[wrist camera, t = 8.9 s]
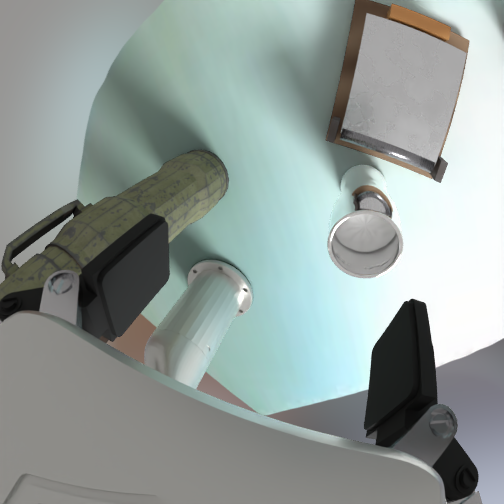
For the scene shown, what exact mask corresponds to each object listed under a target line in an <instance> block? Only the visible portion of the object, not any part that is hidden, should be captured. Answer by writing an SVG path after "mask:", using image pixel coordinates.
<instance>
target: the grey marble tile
mask: <svg viewBox="0 0 504 504" xmlns="http://www.w3.org/2000/svg"><path fill="white" fill-rule="evenodd" d="M466 54H467V53H465V52H464V51H462V50H460V49H458V48H456V47H454V46H452V45H450V44H448V43H446V42H443V41H441V40H439V39H437V38H435V37H432V36H430V35H428V34H425V33H423V32H421V31H418V30H416V29H413V28H411V27H408V26H405V25H402V24H400V23H397V22H394V21H391V20H388V19H385V18H382V17H378V16H375V15H372V14H368V13H367V14H366V20H365V25H364V30H363V35H362V41H361V46H360V50H359V55H358V60H357V65H356V69H355V74H354V78H353V83H352V87H351V92H350V96H349V100H348V104H347V108H346V113H345V117H344V121H343V125H342V129H341V136H340V140H343V141H346V142H349V143H352V144H356V145H359V146H362V147H365V148H367V149H370V150H373V151H376V152H379V153H382V154H384V155H387V156H390V157H392V158H395V159H398V160H400V161H403V162H405V163H408V164H410V165H413V166H415V167H418V168H420V169H422V170H425V171H427V172H429V173H432V171H433V169H434V167H435V164H436V161H437V159H438V156H439V153H440V150H441V147H442V144H443V141H444V138H445V135H446V132H447V129H448V126H449V123H450V119H451V116H452V113H453V109H454V106H455V102H456V98H457V94H458V91H459V87H460V82H461V78H462V74H463V69H464V65H465V60H466Z"/></svg>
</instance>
